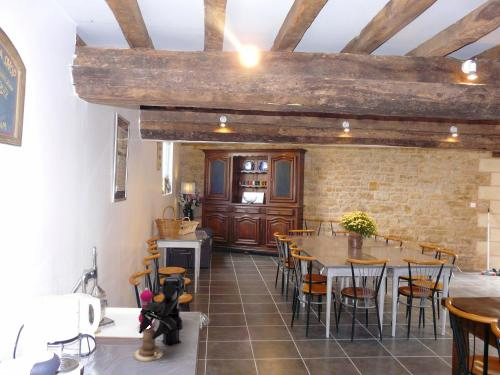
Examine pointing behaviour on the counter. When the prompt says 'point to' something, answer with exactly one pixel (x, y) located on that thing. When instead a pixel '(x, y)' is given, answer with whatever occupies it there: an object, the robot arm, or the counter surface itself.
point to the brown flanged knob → (148, 344)
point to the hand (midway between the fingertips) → (146, 336)
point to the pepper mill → (145, 302)
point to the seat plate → (148, 358)
